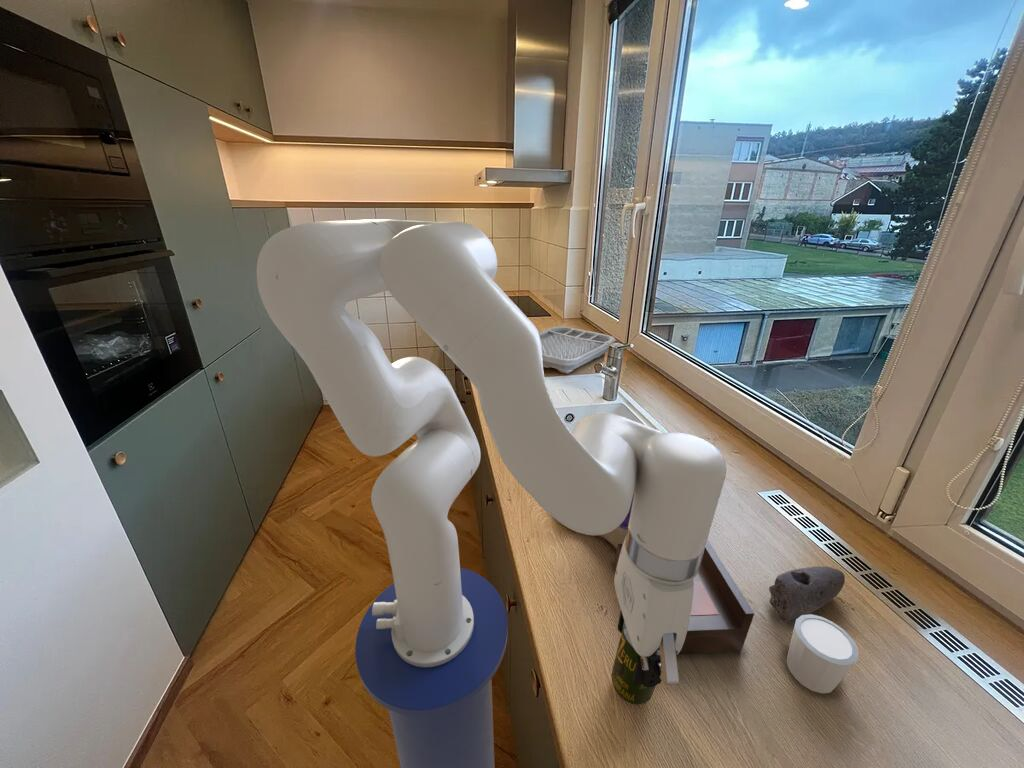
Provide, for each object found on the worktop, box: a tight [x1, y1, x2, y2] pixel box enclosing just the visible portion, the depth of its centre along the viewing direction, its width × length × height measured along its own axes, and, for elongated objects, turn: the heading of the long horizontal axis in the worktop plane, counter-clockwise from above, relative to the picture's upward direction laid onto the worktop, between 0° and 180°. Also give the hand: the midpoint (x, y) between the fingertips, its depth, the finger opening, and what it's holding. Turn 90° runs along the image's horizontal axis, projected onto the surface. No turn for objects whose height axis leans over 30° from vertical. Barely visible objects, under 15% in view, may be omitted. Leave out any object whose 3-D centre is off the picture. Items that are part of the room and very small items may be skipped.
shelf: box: [614, 539, 755, 655], centre depth 64 cm, size 14×16×8 cm
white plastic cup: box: [786, 613, 859, 695], centre depth 55 cm, size 7×7×7 cm
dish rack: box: [539, 326, 617, 374], centre depth 167 cm, size 32×37×8 cm
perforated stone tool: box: [768, 566, 846, 622], centre depth 64 cm, size 15×5×7 cm, turn 108°
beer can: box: [610, 621, 660, 706], centre depth 51 cm, size 5×5×12 cm
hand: (637, 653), depth 50 cm, fingers closed on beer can, 5 cm apart
